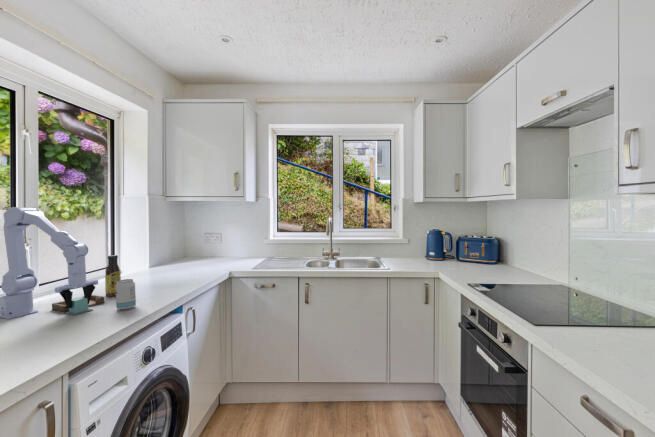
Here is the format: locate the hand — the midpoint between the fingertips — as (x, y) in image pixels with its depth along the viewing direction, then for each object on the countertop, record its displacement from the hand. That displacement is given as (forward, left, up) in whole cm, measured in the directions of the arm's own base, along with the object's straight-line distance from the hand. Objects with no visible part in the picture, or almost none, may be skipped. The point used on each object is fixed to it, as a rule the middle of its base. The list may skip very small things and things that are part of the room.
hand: (78, 305), depth 127 cm
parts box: (+4, +9, -3) cm, 10 cm away
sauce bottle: (+22, +13, -3) cm, 26 cm away
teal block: (0, 0, -2) cm, 2 cm away
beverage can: (+10, -15, -3) cm, 18 cm away
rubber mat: (0, 0, -3) cm, 3 cm away
